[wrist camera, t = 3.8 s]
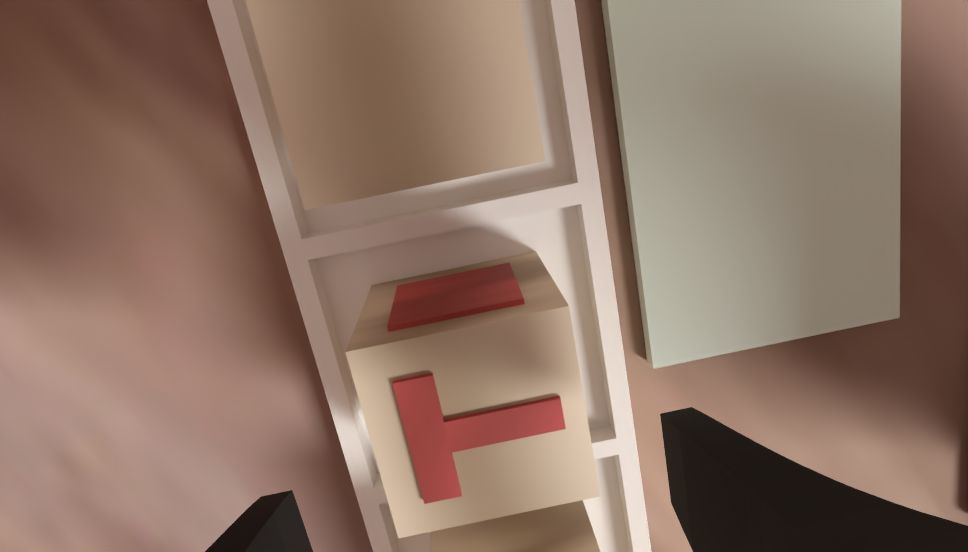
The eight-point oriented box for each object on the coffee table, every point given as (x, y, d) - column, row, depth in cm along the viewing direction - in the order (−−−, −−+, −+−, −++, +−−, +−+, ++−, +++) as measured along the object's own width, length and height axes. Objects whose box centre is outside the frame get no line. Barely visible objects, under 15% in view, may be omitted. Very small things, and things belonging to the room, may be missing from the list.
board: (885, -184, 16) (902, -195, 15) (886, 311, 20) (900, 317, 19) (585, -123, 16) (590, -131, 15) (647, 360, 20) (653, 368, 19)
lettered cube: (535, 246, 18) (569, 302, 13) (561, 399, 20) (601, 500, 15) (370, 280, 18) (342, 348, 13) (409, 430, 19) (397, 542, 15)
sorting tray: (544, -142, 16) (552, -161, 14) (653, 619, 23) (664, 647, 22) (200, -73, 16) (180, -86, 14) (418, 669, 23) (417, 699, 22)
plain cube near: (483, -49, 16) (500, -114, 11) (516, 143, 17) (545, 160, 12) (294, -11, 16) (228, -59, 11) (343, 179, 17) (304, 210, 12)
